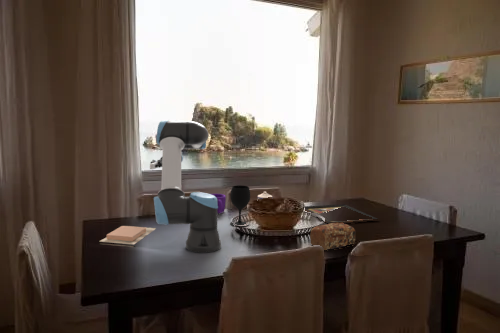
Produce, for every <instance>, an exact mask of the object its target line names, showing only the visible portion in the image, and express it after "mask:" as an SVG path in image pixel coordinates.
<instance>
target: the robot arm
mask: <svg viewBox="0 0 500 333" xmlns="http://www.w3.org/2000/svg"><path fill="white" fill-rule="evenodd" d="M209 136H210V135H209V130H208V129H207V127H206V126H204V124H202V123H199V122H197V121H194V120H193V121H192V120H170V119H168V120H161V121H160V122H159V123H158V126H157V130H156V144H157V145H158V146H159V148H160V149H161V150H162V156H161V157H160V159H157V160H155V159H152V161H150V163H149V170H155V169H158V168H161V188H160V190H158V192H157V196H154V197H153V204H154V213H155V221H156V222H155V223H157V224H158V225H166V226H168V225H189V232H188V234H187V239H186V241H185V249H186V250H188V251H190V252H193V253H199V254H202V253H212V252H217V251H218V250H220V249H221V248H222V240H221V239H220V234H219V231H218V214H217V208H218V203H217V198H216V197H215V196H214V195H211V194H212V193H207V192H201V191H198V192H197V191H195V192H190V194H189V196H188V195H187V196H186V194H185V191H183V190H182V163H183V161H184V156H183V155H182V150H205V149H206V148H207V141H208V139H209Z"/></svg>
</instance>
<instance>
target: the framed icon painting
mask: <svg viewBox="0 0 500 333" xmlns="http://www.w3.org/2000/svg"><path fill="white" fill-rule="evenodd" d="M304 206H305V205H304ZM341 207H346V208H348V209H351V210H353V211H356V212H358V213H361V214H363V215H366V216H369V217H372V219H359V220H347V221H328V220H326V219H325V222H327V223H329V224H330V223H343V222H353V221H363V220H373V219H378V218H377V217H374V216H372V215H370V214H368V213H366V212H363V211H361V210H359V209H357V208H354V207H352V206H350V205H348V204H344V203H343V204H326V205H324V204H323V205H307V206H305V211H307V212H311V213H318V214H321V213H324V212H326V213H327V211H328V212H329V211H333V210H335V209H338V208H341ZM305 211H304V212H305ZM325 222H324V223H325Z"/></svg>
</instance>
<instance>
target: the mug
mask: <svg viewBox="0 0 500 333" xmlns="http://www.w3.org/2000/svg"><path fill="white" fill-rule="evenodd" d="M210 194H211V195H214V196H215V197H216V198H217V203H218V208H217V215H219V214H222V213H224V212H225V209H226V199H227V197H226V195H225V194H223V193H210Z"/></svg>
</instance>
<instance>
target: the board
mask: <svg viewBox="0 0 500 333" xmlns="http://www.w3.org/2000/svg"><path fill="white" fill-rule="evenodd" d="M130 226H131V227H135V226H133V225H130ZM143 227H144V228H146V232H145V233H144V234H142V235H141V236H139V237H138V238H137V239H135V240H134V241H132V242H128V241H116V240H108V239H107V236H106V237H105V238H103V239H101V240H99V242H100V243H99V245H107V246H114V247H115V246H116V247H129V248H135V247H136V246H135V245H136V244H137V243H139V242H140V241H142V239H144V238H145V237H147V236H148V235H149V234H151V233H152V232H154V231H155V230H156V229H157V228H156V227H145V226H143ZM111 243H112V244H111ZM113 243H114V244H113Z"/></svg>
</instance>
